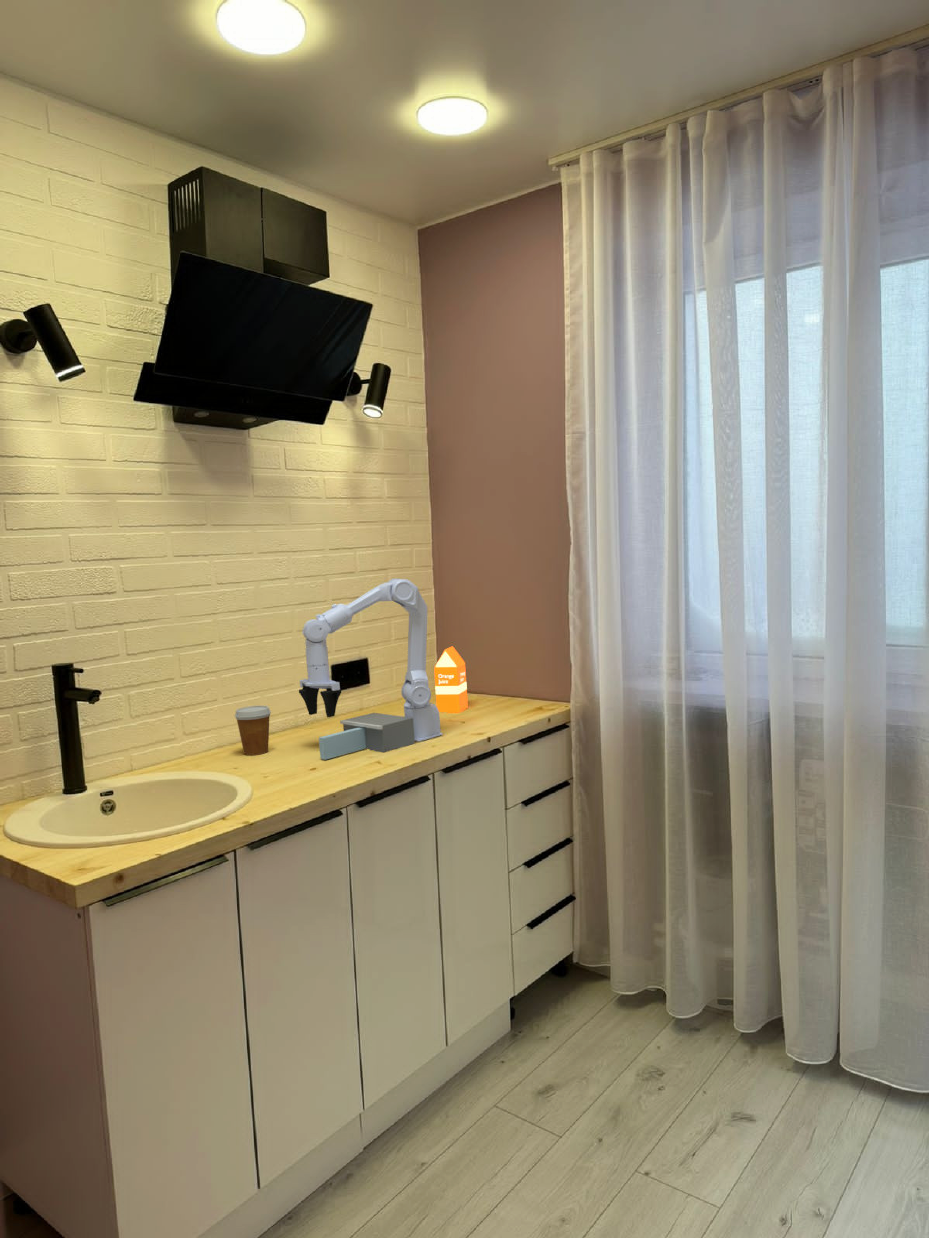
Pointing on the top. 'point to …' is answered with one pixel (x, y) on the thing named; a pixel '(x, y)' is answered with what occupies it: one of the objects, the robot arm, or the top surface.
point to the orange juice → (451, 682)
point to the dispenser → (383, 730)
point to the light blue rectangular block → (342, 743)
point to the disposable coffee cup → (254, 729)
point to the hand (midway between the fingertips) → (321, 715)
